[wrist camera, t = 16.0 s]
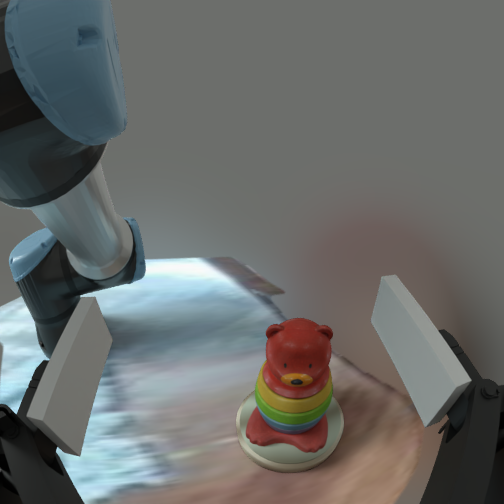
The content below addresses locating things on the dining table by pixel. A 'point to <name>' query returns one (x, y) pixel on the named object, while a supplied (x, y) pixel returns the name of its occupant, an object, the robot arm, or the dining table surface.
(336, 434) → the stand
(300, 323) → the stacking bear
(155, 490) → the dining table surface
